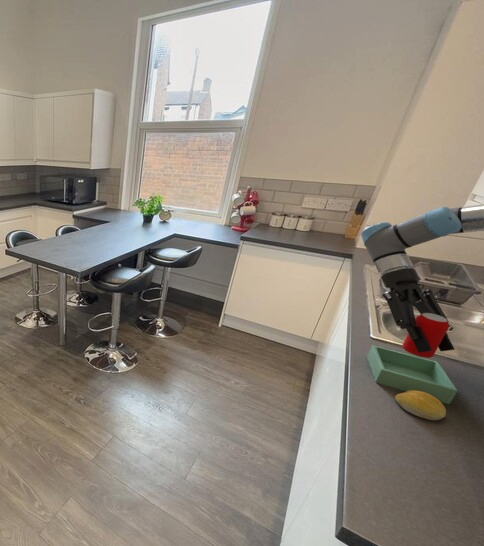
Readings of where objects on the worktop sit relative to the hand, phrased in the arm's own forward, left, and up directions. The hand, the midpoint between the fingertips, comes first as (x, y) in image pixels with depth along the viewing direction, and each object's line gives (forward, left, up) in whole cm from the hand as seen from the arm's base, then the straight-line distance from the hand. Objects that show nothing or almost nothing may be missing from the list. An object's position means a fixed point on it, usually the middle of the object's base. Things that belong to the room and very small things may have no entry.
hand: (436, 350), depth 83 cm
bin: (+2, -3, -12) cm, 13 cm away
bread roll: (+2, +11, -12) cm, 17 cm away
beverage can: (+2, -3, -4) cm, 5 cm away
